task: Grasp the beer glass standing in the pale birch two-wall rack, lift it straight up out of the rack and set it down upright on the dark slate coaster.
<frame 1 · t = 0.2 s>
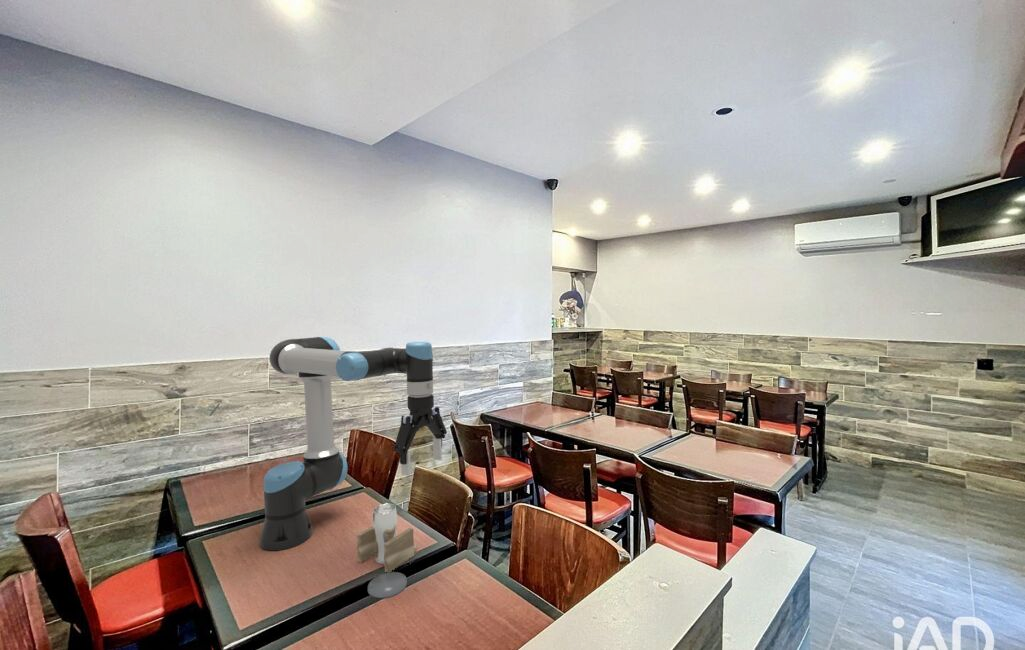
hand: (422, 466, 125), 27 cm above the table, fingers open, 13 cm apart
rack: (386, 558, 126), on the table
coaster: (387, 585, 113), on the table
beer glass: (386, 559, 126), resting in rack
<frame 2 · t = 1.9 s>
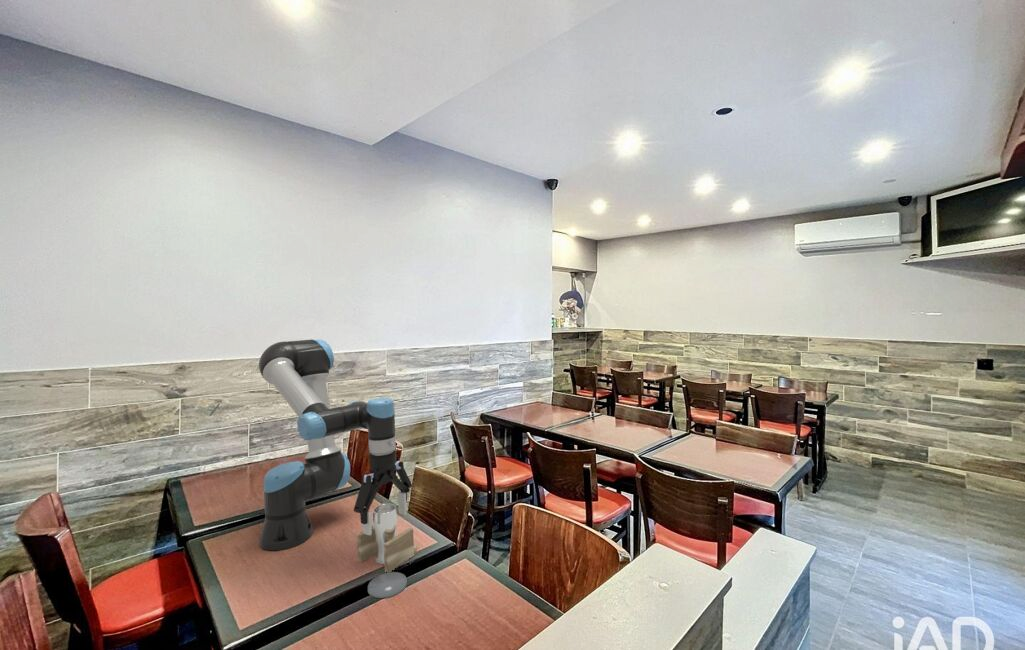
hand: (385, 523, 125), 11 cm above the table, fingers open, 13 cm apart
nothing on the table moved.
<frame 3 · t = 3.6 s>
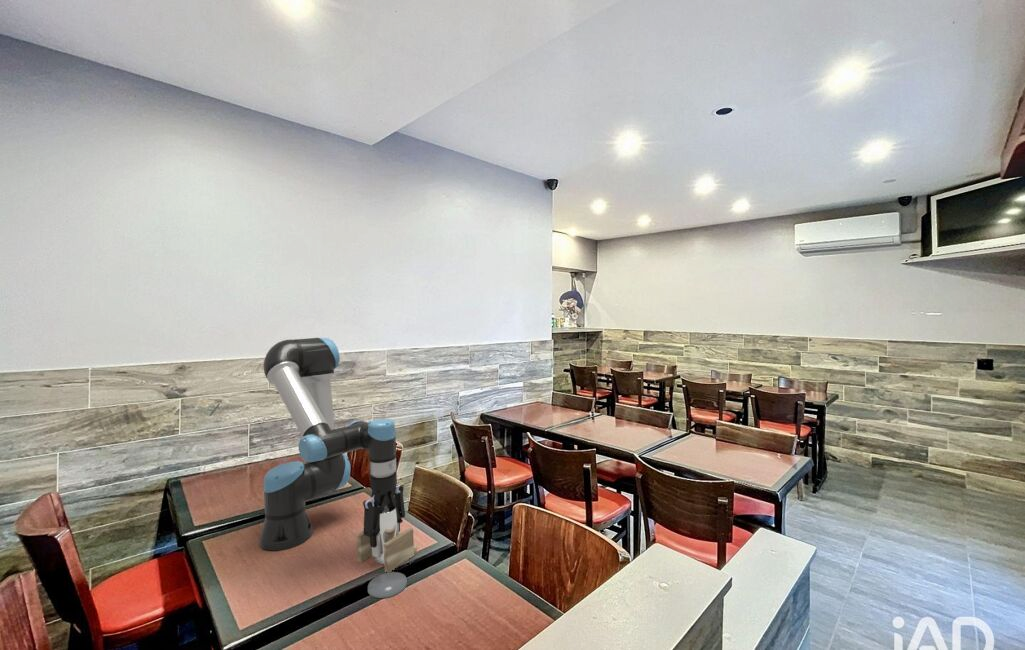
hand: (386, 550, 126), 3 cm above the table, fingers closed on beer glass, 7 cm apart
beer glass: (386, 559, 126), resting in rack, touching gripper
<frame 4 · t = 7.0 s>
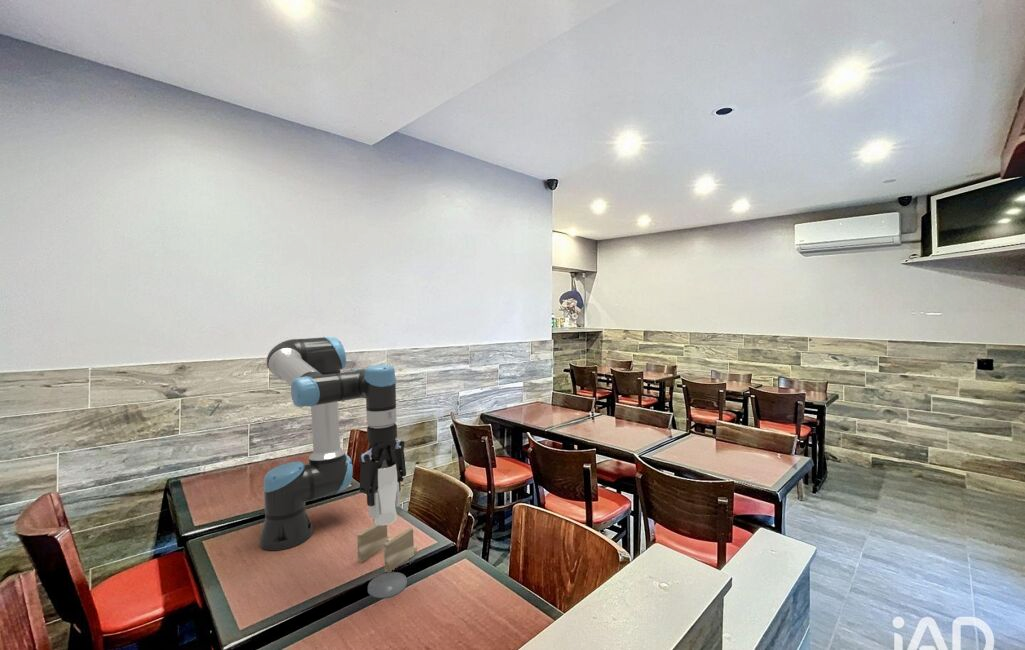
hand: (385, 510, 112), 20 cm above the table, fingers closed on beer glass, 7 cm apart
beer glass: (385, 520, 112), point 18 cm above the table, touching gripper
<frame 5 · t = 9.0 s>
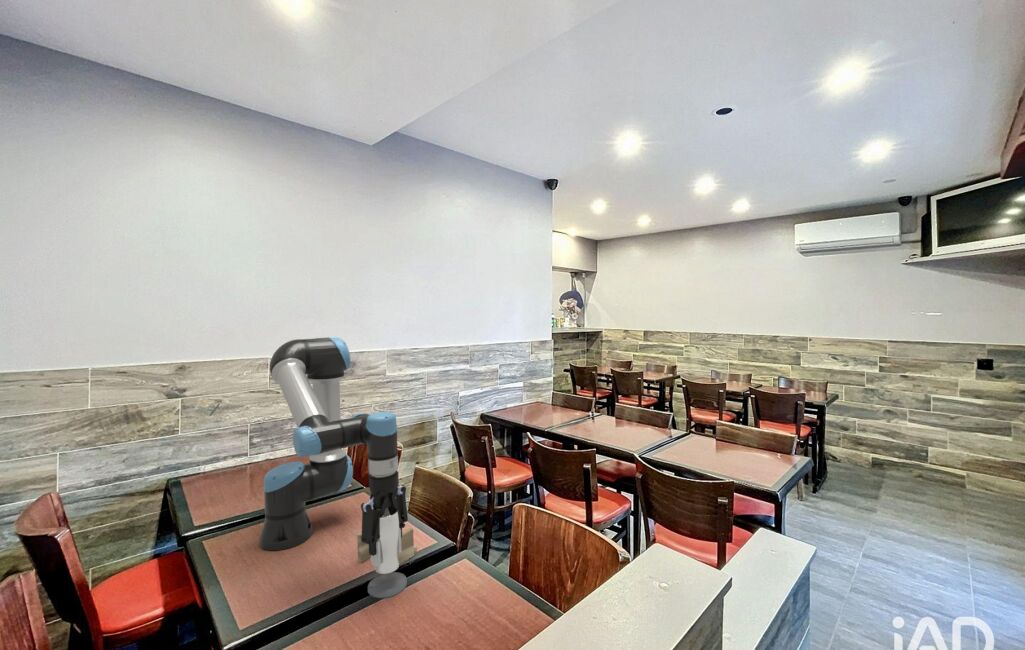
hand: (386, 558, 113), 8 cm above the table, fingers closed on beer glass, 7 cm apart
beer glass: (387, 568, 113), point 5 cm above the table, touching gripper
when the fingers open (5 cm above the table, at t = 10.4 s): beer glass drops 2 cm, resting on coaster.
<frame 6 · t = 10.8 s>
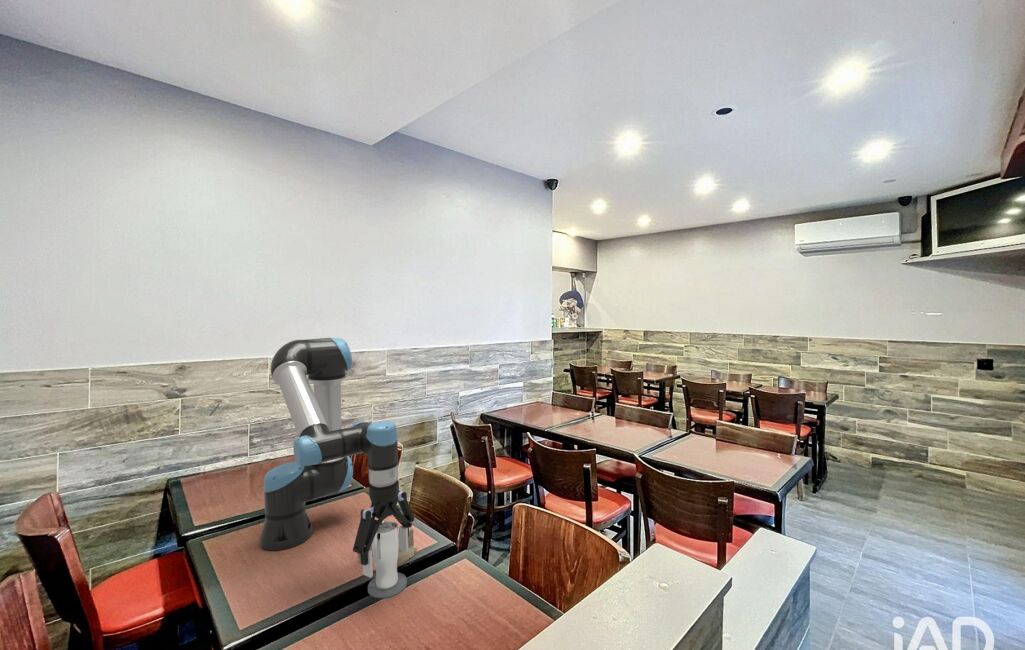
hand: (386, 562, 113), 6 cm above the table, fingers open, 12 cm apart
beer glass: (387, 583, 113), resting on coaster
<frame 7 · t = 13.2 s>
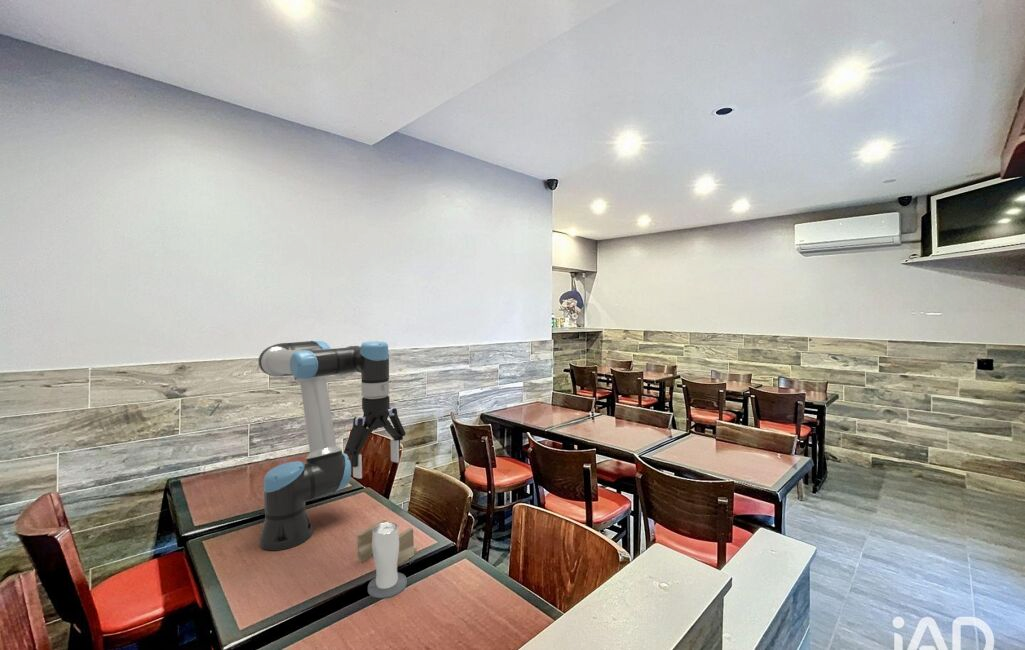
hand: (377, 469, 122), 28 cm above the table, fingers open, 13 cm apart
nothing on the table moved.
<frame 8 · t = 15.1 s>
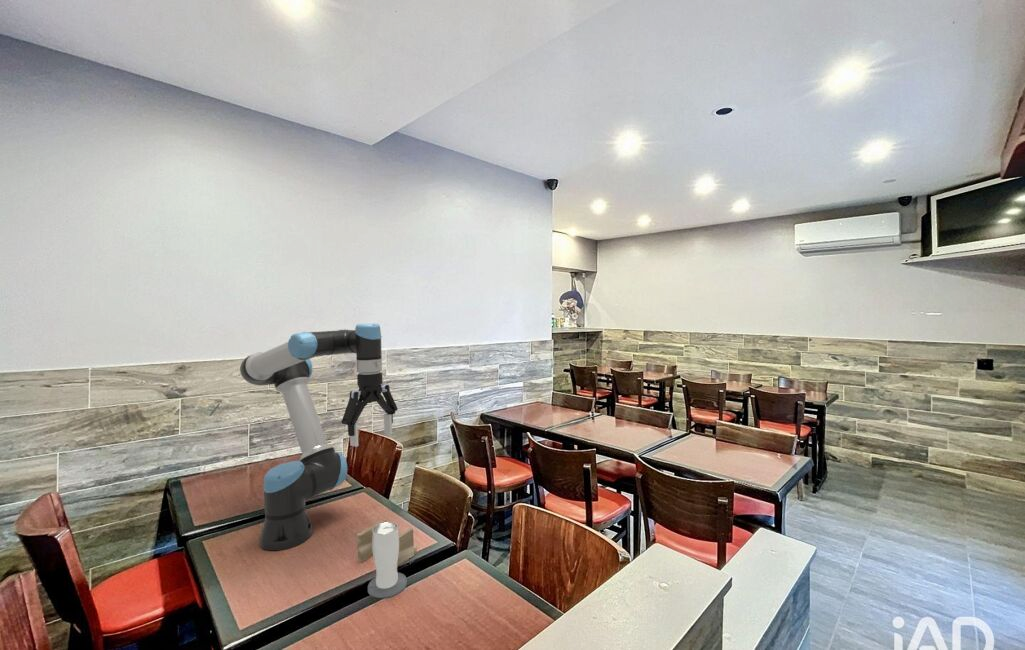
hand: (372, 439, 134), 33 cm above the table, fingers open, 13 cm apart
nothing on the table moved.
at the end: beer glass 0.1 cm from the coaster (horizontally); beer glass tilted 0°; beer glass resting on coaster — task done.
